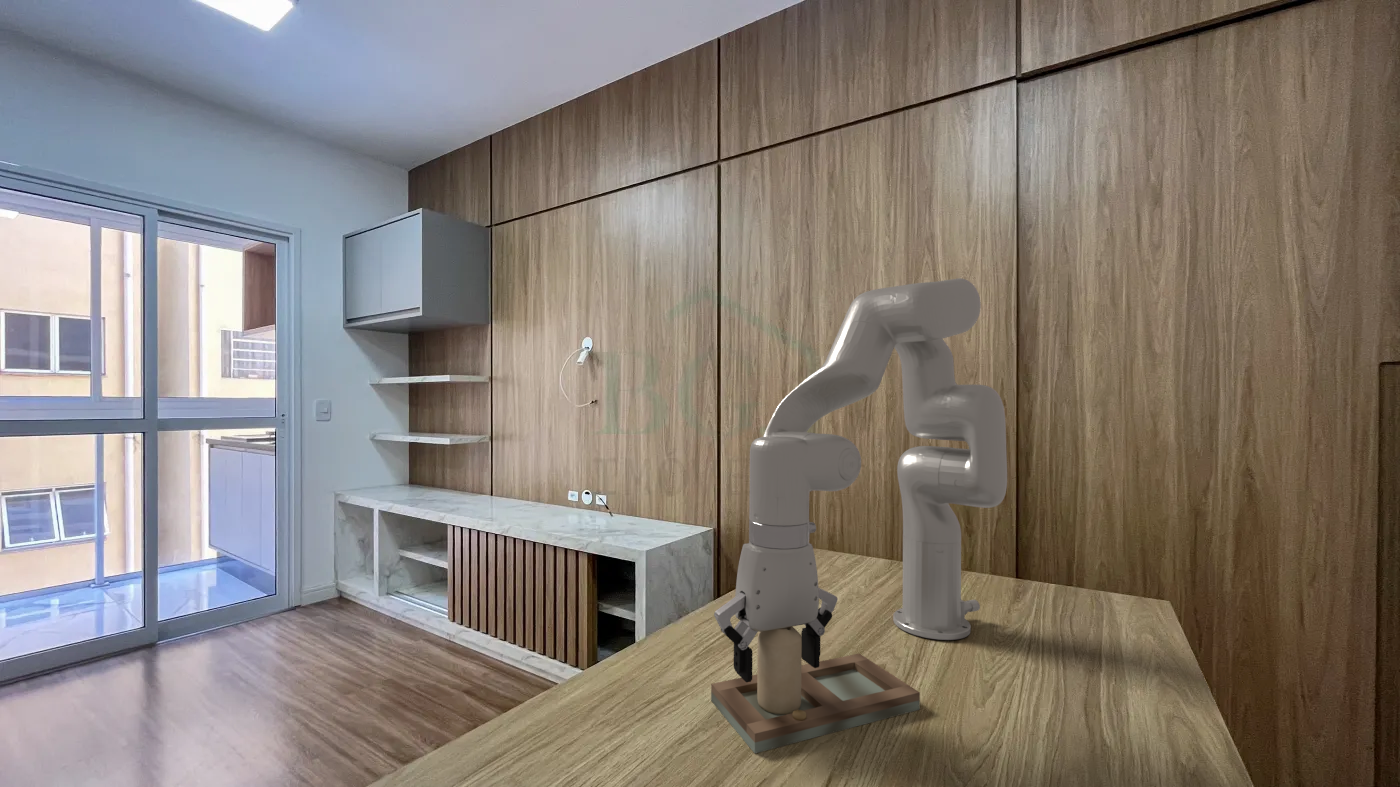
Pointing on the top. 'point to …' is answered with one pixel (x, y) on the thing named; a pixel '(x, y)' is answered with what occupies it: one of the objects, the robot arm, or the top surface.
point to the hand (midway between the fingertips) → (777, 670)
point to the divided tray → (817, 702)
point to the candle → (779, 670)
